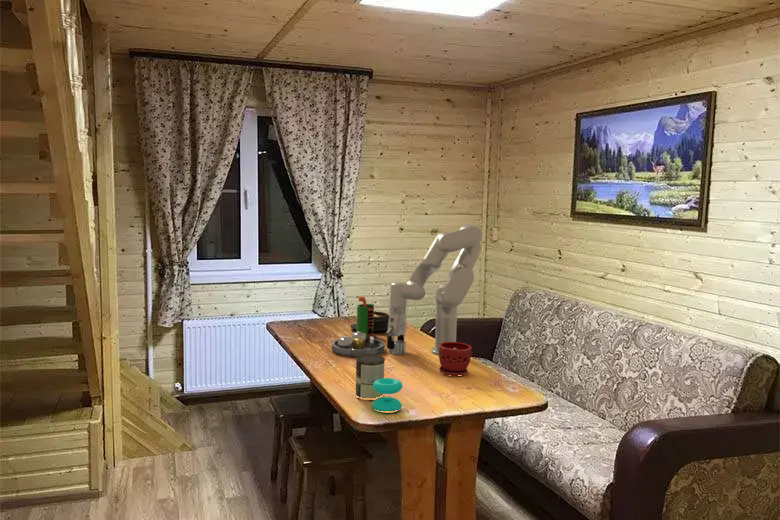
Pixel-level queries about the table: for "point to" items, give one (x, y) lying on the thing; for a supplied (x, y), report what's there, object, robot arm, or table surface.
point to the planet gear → (398, 347)
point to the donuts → (387, 388)
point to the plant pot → (454, 358)
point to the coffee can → (368, 375)
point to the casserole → (378, 322)
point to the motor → (365, 318)
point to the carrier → (358, 345)
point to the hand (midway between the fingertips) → (395, 346)
